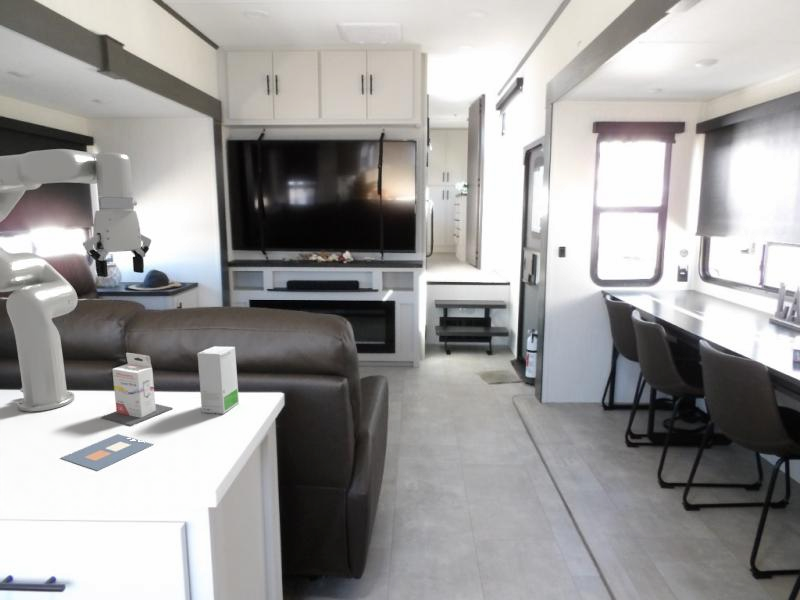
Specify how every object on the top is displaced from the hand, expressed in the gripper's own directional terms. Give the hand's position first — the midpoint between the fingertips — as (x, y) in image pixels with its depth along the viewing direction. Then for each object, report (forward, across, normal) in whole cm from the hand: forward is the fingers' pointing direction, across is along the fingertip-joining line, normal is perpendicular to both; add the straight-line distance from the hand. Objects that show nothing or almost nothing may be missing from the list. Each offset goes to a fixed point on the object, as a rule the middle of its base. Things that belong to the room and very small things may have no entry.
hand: (121, 274), depth 133 cm
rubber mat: (+35, +2, +6) cm, 35 cm away
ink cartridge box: (+34, +3, +6) cm, 35 cm away
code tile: (+34, +19, +20) cm, 44 cm away
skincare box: (+34, -10, +22) cm, 42 cm away
